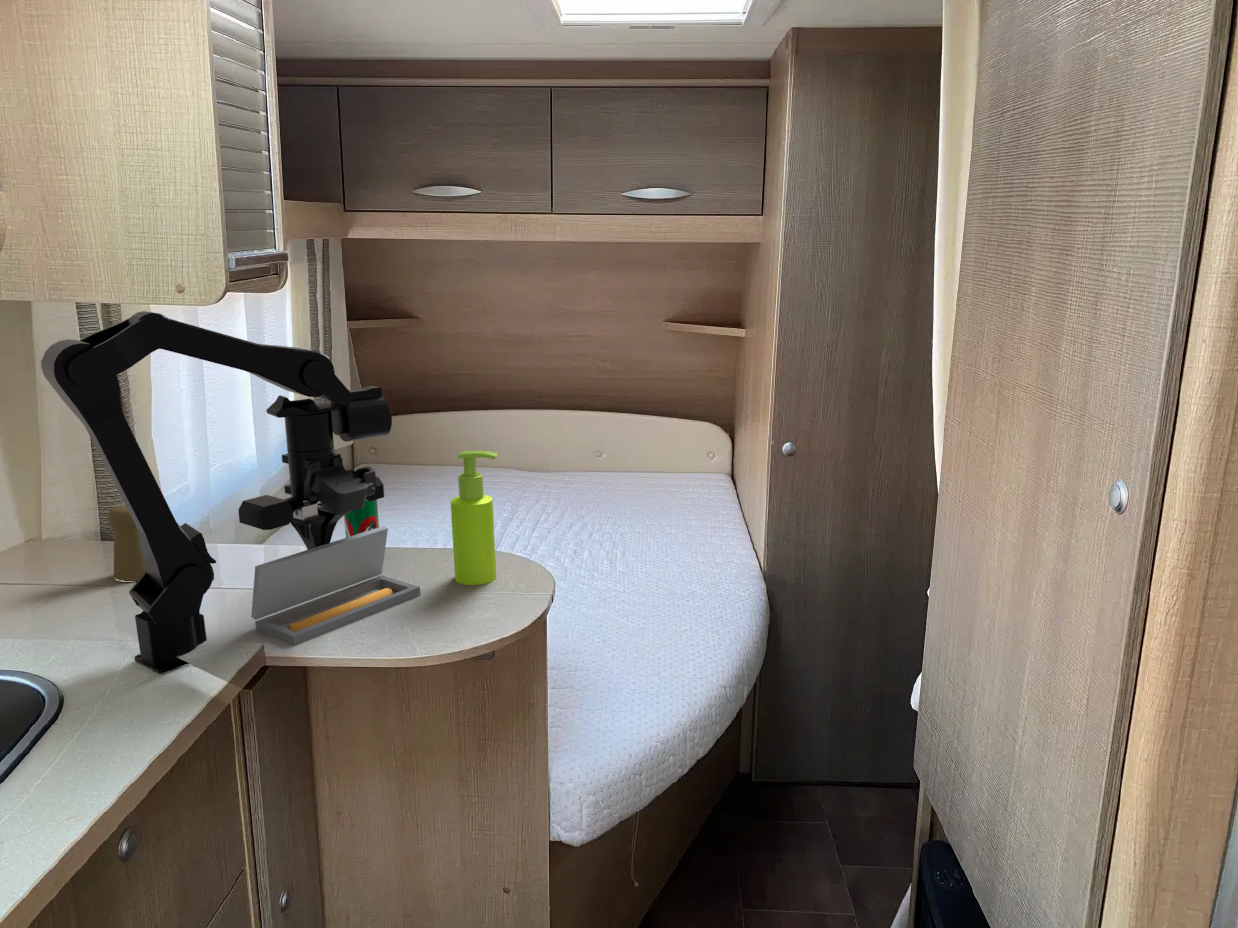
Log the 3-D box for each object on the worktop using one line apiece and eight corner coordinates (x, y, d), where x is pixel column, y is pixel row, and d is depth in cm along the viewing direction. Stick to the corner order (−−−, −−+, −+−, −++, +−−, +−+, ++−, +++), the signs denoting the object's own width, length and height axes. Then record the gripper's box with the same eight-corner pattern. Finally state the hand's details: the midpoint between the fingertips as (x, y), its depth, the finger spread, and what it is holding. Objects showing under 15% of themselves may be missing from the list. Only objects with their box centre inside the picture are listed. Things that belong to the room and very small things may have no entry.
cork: (114, 585, 137) (103, 513, 135) (113, 573, 142) (102, 503, 140) (159, 577, 140) (150, 507, 137) (157, 566, 145) (147, 498, 143)
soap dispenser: (500, 594, 132) (493, 456, 127) (451, 594, 132) (443, 456, 127) (506, 579, 137) (500, 447, 133) (460, 579, 138) (452, 447, 133)
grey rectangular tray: (295, 655, 113) (293, 636, 112) (257, 639, 118) (255, 621, 117) (421, 603, 128) (419, 586, 128) (383, 591, 133) (381, 575, 133)
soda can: (386, 559, 147) (380, 485, 144) (375, 570, 142) (369, 494, 139) (355, 558, 147) (349, 485, 144) (343, 569, 142) (336, 494, 139)
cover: (258, 569, 114) (255, 566, 114) (255, 619, 117) (251, 616, 117) (388, 528, 130) (384, 525, 130) (381, 573, 132) (378, 571, 133)
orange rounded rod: (296, 637, 117) (295, 625, 116) (289, 634, 118) (288, 622, 117) (395, 598, 129) (394, 587, 128) (388, 596, 130) (387, 585, 129)
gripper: (285, 470, 108) (296, 597, 112) (408, 442, 122) (414, 554, 126) (230, 457, 114) (242, 577, 118) (353, 431, 129) (361, 539, 133)
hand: (319, 561), depth 123 cm, fingers closed, pressing on cover
